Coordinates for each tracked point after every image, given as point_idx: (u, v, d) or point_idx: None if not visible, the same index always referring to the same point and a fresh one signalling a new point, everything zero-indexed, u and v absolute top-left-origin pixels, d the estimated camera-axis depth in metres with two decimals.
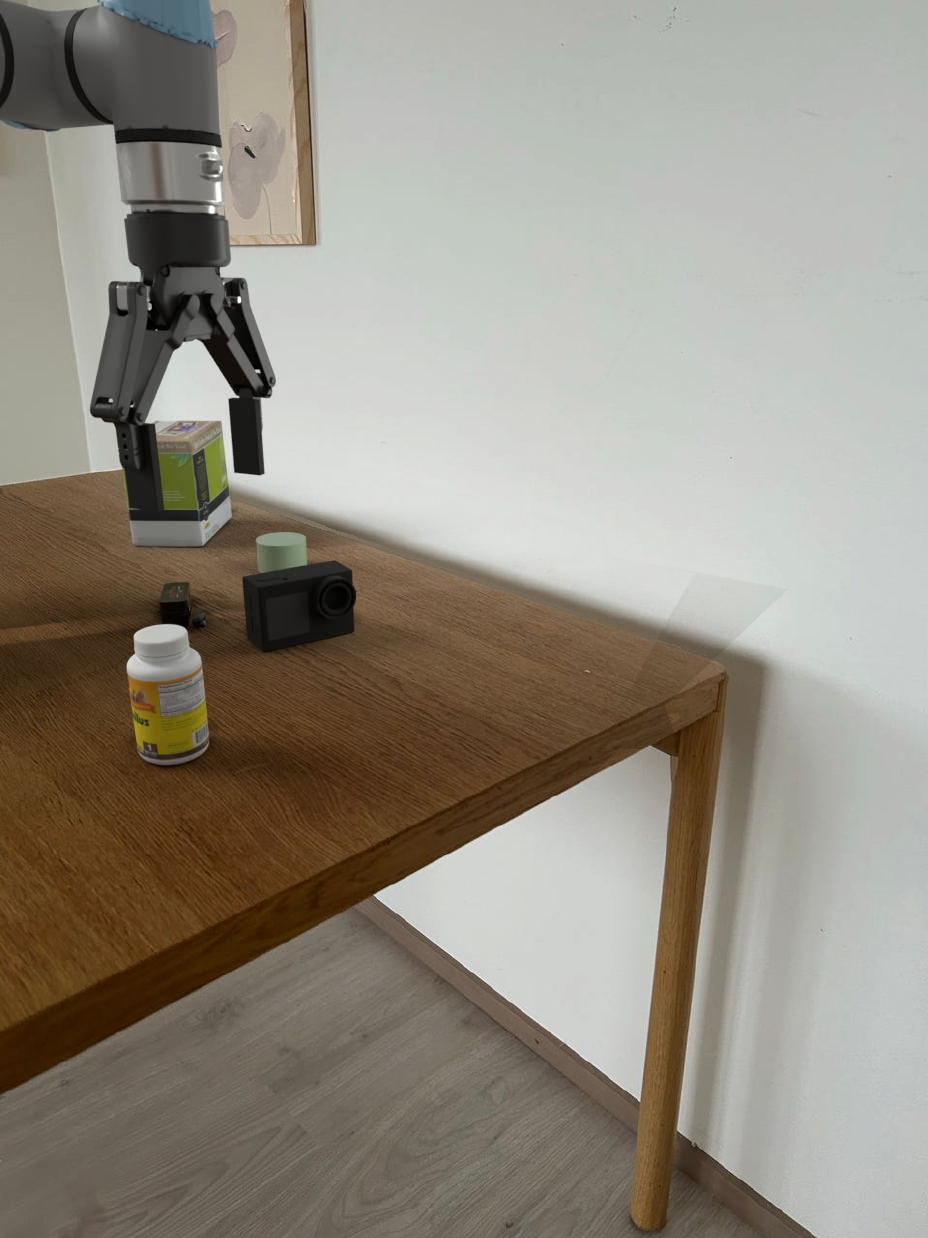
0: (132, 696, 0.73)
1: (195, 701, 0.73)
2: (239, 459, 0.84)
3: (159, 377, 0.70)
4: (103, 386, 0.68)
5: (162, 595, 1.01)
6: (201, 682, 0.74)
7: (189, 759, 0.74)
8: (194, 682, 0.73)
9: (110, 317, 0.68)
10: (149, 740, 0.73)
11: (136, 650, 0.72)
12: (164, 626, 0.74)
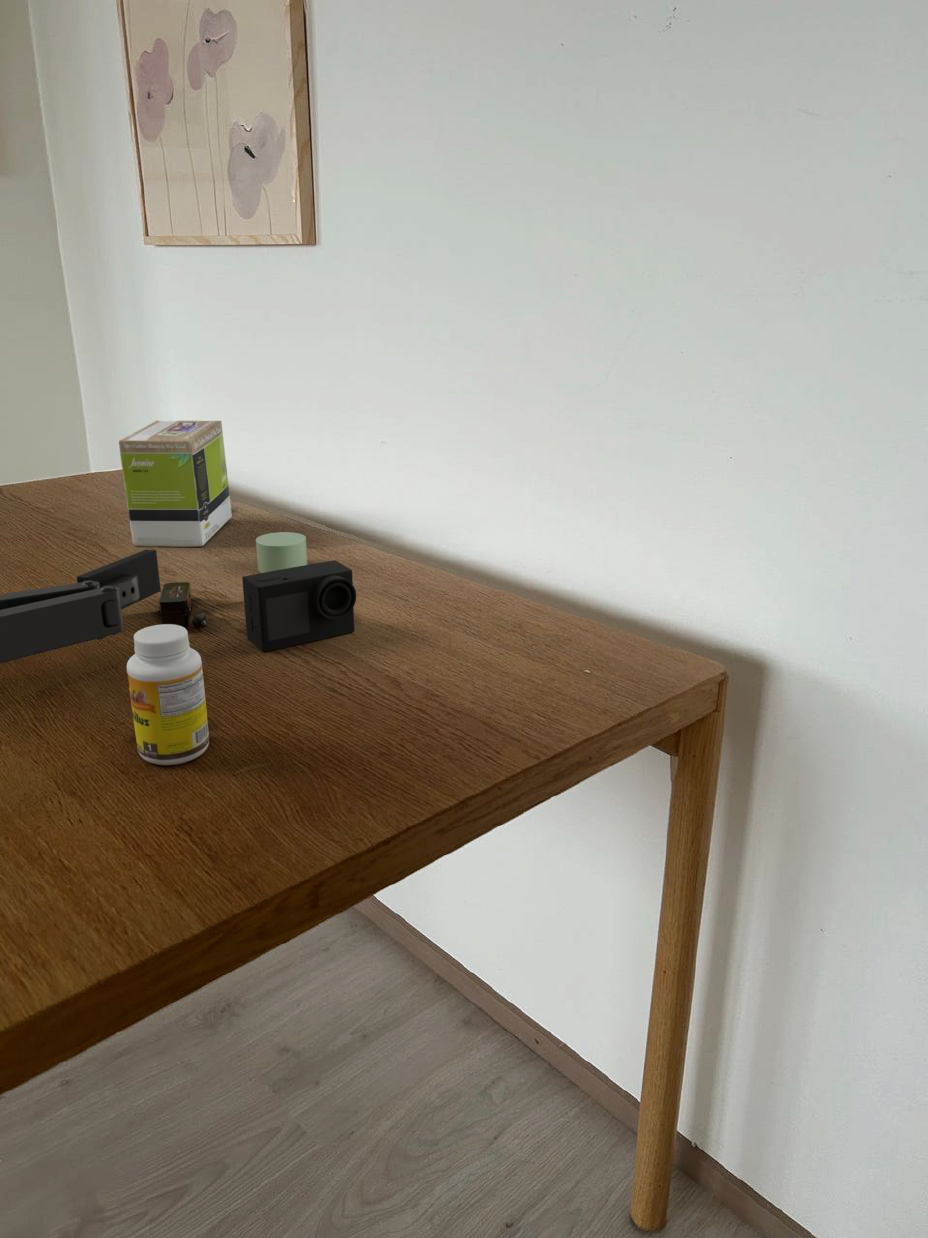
0: (132, 696, 0.73)
1: (195, 701, 0.73)
2: None
3: None
4: None
5: (162, 595, 1.01)
6: (201, 682, 0.74)
7: (189, 759, 0.74)
8: (194, 682, 0.73)
9: None
10: (149, 740, 0.73)
11: (136, 650, 0.72)
12: (164, 626, 0.74)
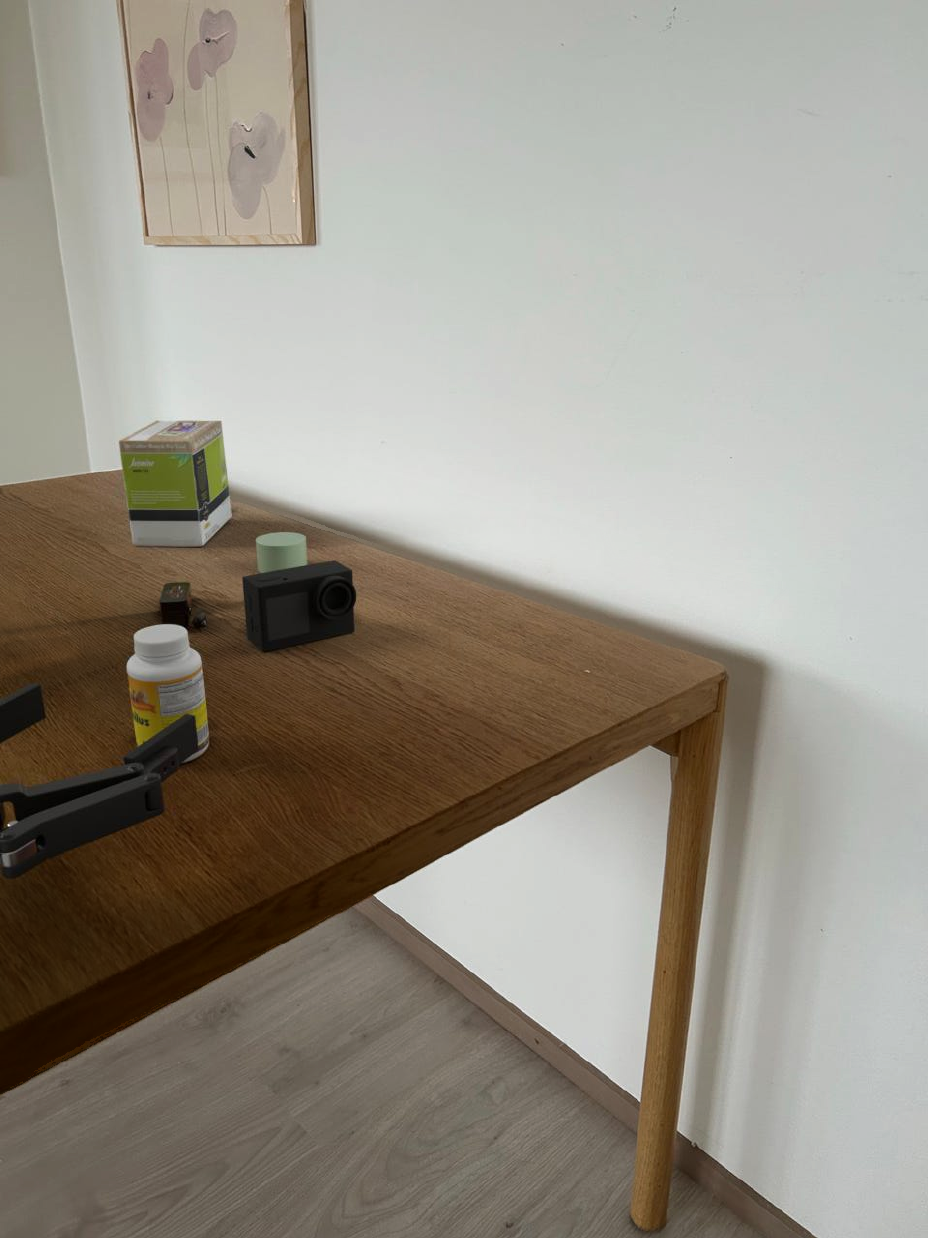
0: (132, 696, 0.73)
1: (195, 701, 0.73)
2: None
3: None
4: None
5: (162, 595, 1.01)
6: (201, 682, 0.74)
7: (189, 759, 0.74)
8: (194, 682, 0.73)
9: None
10: None
11: (136, 650, 0.72)
12: (164, 626, 0.74)
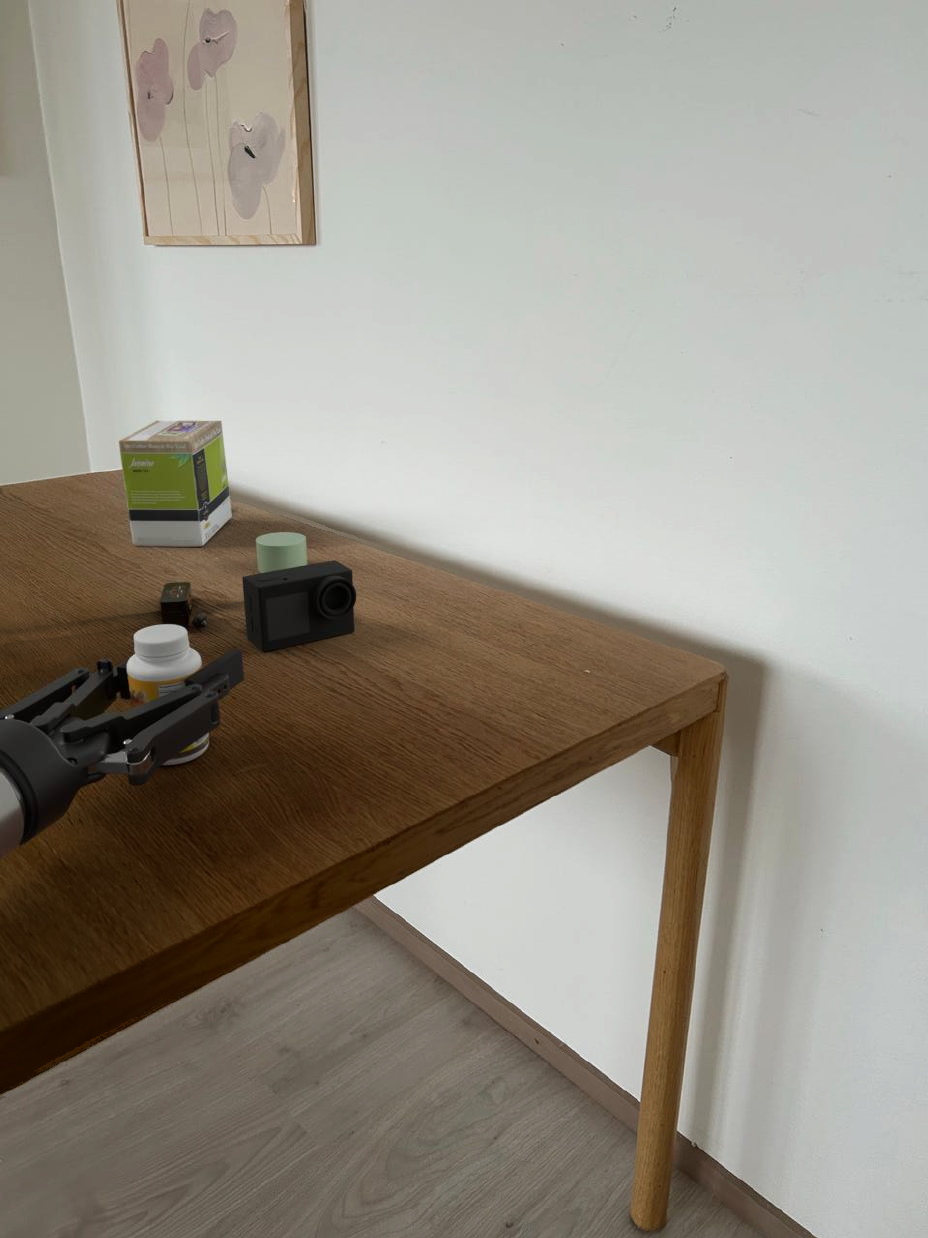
0: (132, 696, 0.73)
1: None
2: None
3: None
4: None
5: (163, 595, 1.01)
6: None
7: (189, 759, 0.74)
8: None
9: None
10: None
11: (136, 650, 0.72)
12: (164, 626, 0.74)
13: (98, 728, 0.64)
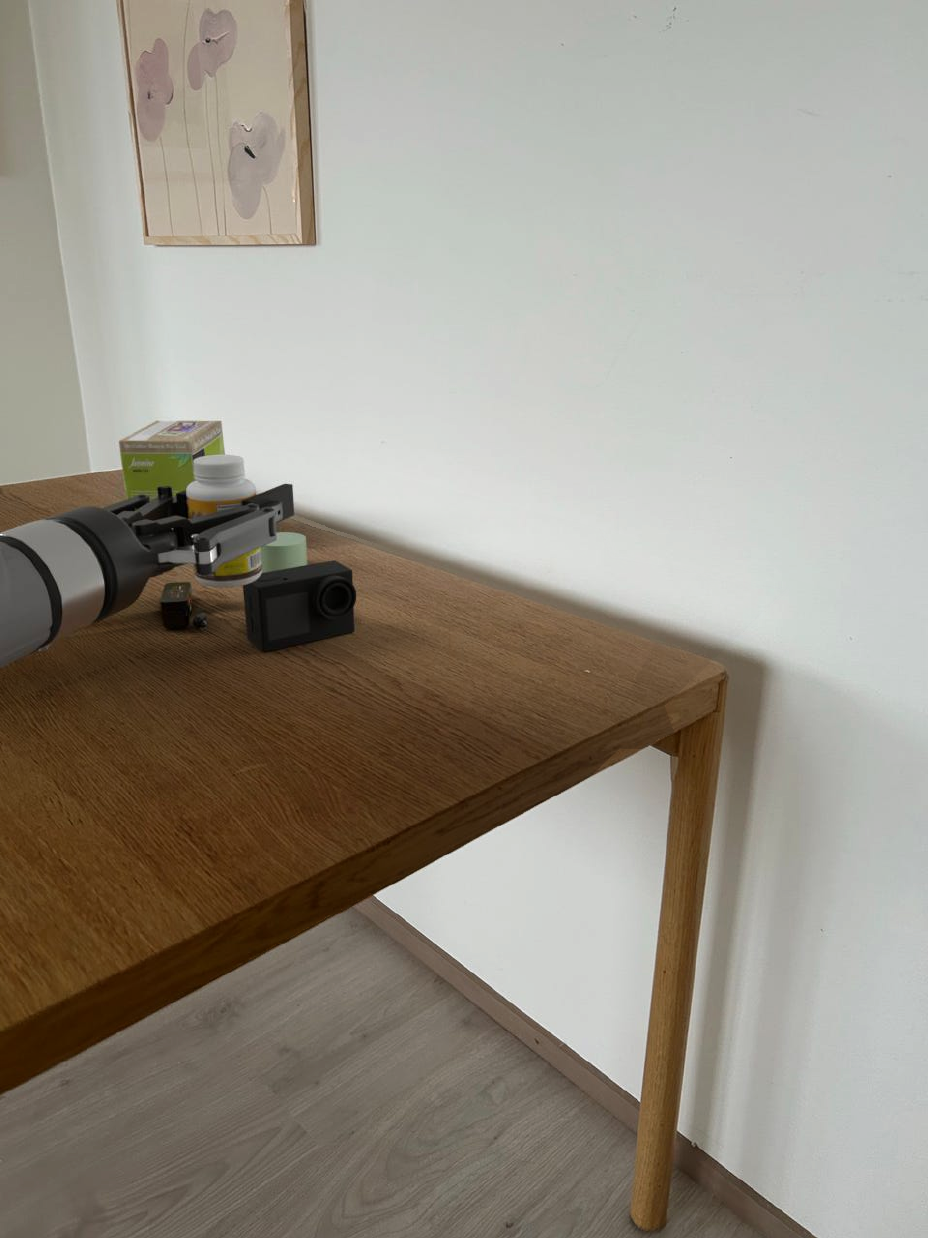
0: None
1: None
2: None
3: None
4: None
5: (163, 595, 1.01)
6: None
7: (244, 582, 0.78)
8: None
9: None
10: None
11: (196, 473, 0.76)
12: (221, 455, 0.78)
13: (166, 526, 0.68)
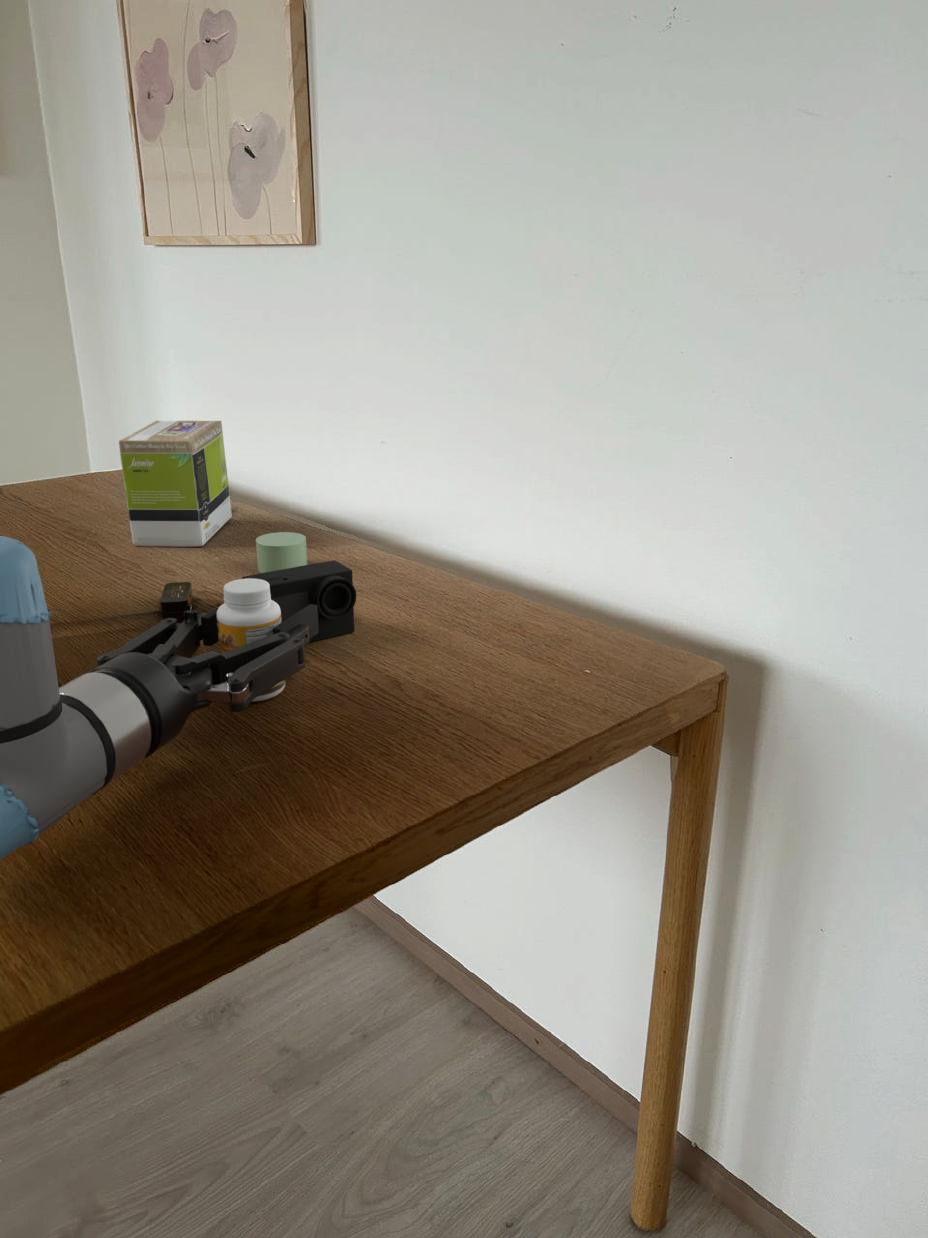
0: (222, 640, 0.83)
1: None
2: None
3: None
4: None
5: (163, 595, 1.01)
6: None
7: (270, 696, 0.85)
8: None
9: None
10: None
11: (226, 599, 0.82)
12: (248, 580, 0.84)
13: (203, 664, 0.75)
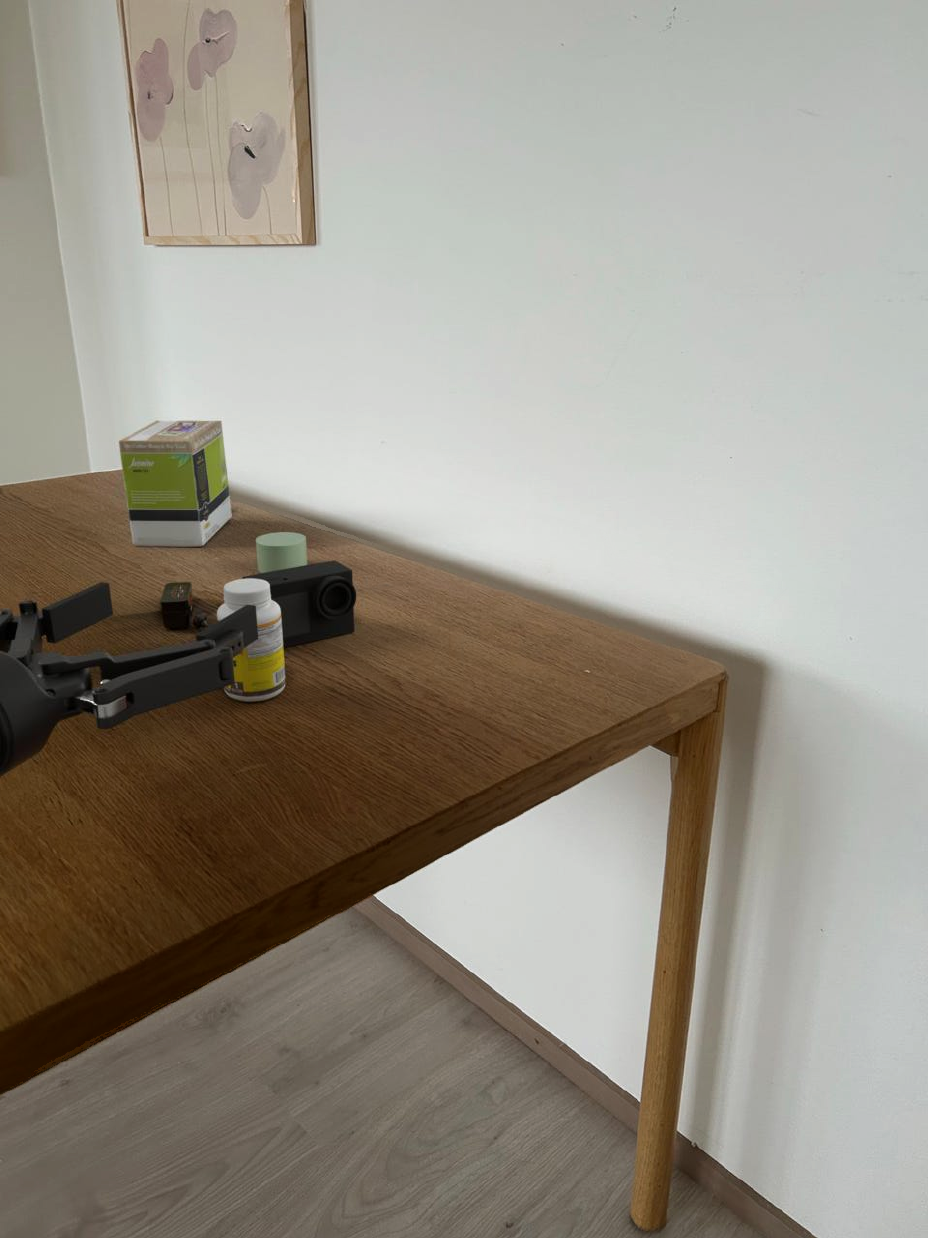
0: None
1: (276, 645, 0.84)
2: None
3: None
4: None
5: (163, 595, 1.01)
6: (281, 629, 0.85)
7: (270, 696, 0.85)
8: (275, 628, 0.83)
9: None
10: (236, 679, 0.84)
11: (226, 599, 0.82)
12: (248, 580, 0.84)
13: (79, 666, 0.61)
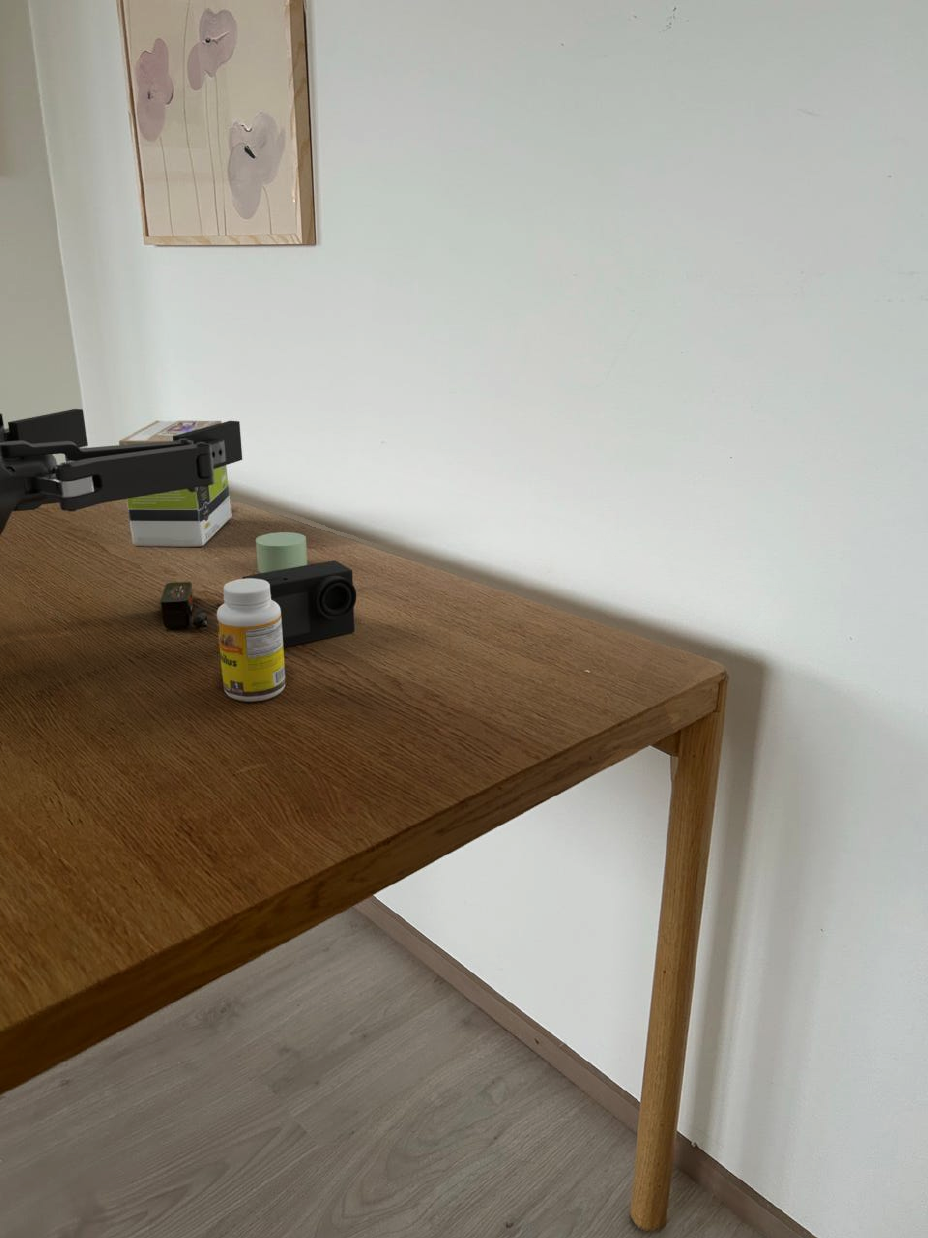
0: (222, 640, 0.83)
1: (276, 645, 0.84)
2: None
3: None
4: None
5: (163, 595, 1.01)
6: (281, 629, 0.85)
7: (270, 696, 0.85)
8: (275, 628, 0.83)
9: None
10: (236, 679, 0.84)
11: (226, 599, 0.82)
12: (248, 580, 0.84)
13: (42, 451, 0.56)
